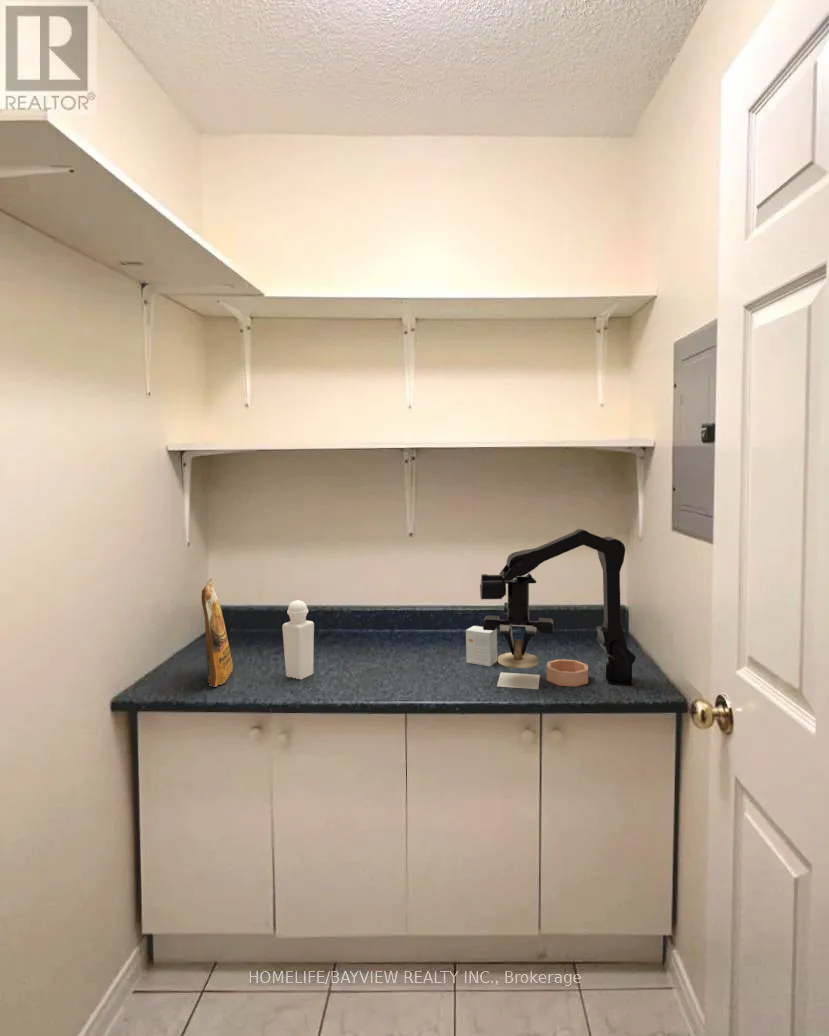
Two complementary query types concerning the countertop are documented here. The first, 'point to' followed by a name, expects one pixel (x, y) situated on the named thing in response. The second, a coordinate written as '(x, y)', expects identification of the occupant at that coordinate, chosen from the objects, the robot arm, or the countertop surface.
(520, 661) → the lid
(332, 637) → the countertop surface
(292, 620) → the white square bottle
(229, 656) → the pancake mix bag
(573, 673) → the bowl
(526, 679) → the mat
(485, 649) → the small box
